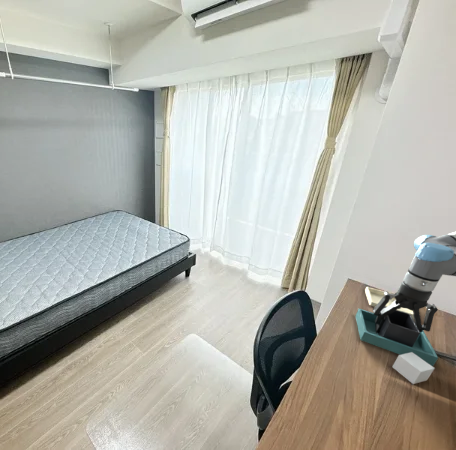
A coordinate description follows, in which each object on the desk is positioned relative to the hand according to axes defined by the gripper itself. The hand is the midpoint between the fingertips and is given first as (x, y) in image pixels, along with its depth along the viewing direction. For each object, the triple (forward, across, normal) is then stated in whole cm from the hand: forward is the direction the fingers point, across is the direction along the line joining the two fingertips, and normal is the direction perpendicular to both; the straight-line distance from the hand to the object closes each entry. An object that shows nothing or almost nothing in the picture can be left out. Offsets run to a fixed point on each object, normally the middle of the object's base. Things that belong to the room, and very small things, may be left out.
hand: (391, 335), depth 93 cm
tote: (+2, 0, 0) cm, 2 cm away
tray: (+2, +5, +27) cm, 28 cm away
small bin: (+1, 0, 0) cm, 1 cm away
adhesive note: (+2, +2, -16) cm, 16 cm away
